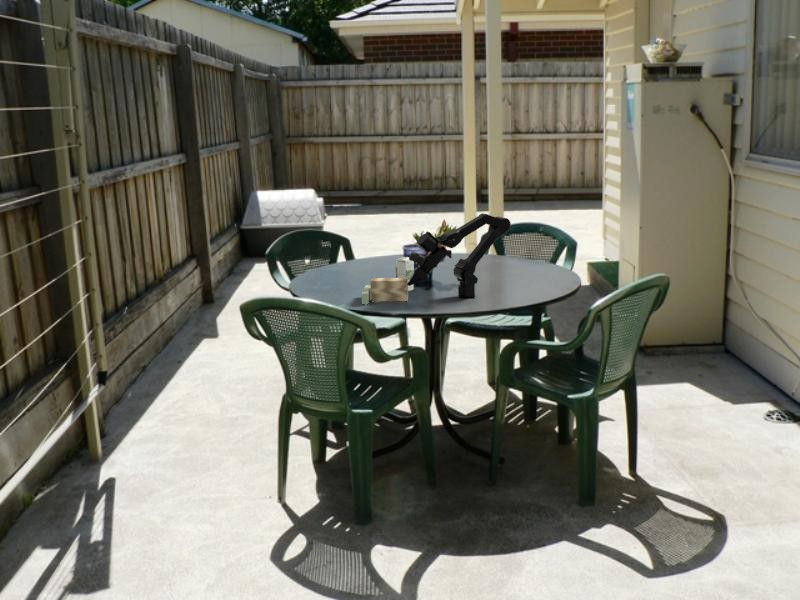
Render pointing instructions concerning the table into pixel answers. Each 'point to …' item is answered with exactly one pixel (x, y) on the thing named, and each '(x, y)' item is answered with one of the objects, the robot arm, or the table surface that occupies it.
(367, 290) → the sage batten
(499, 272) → the table surface
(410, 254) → the robot arm
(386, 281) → the beech block
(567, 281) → the table surface
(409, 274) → the syrup box
